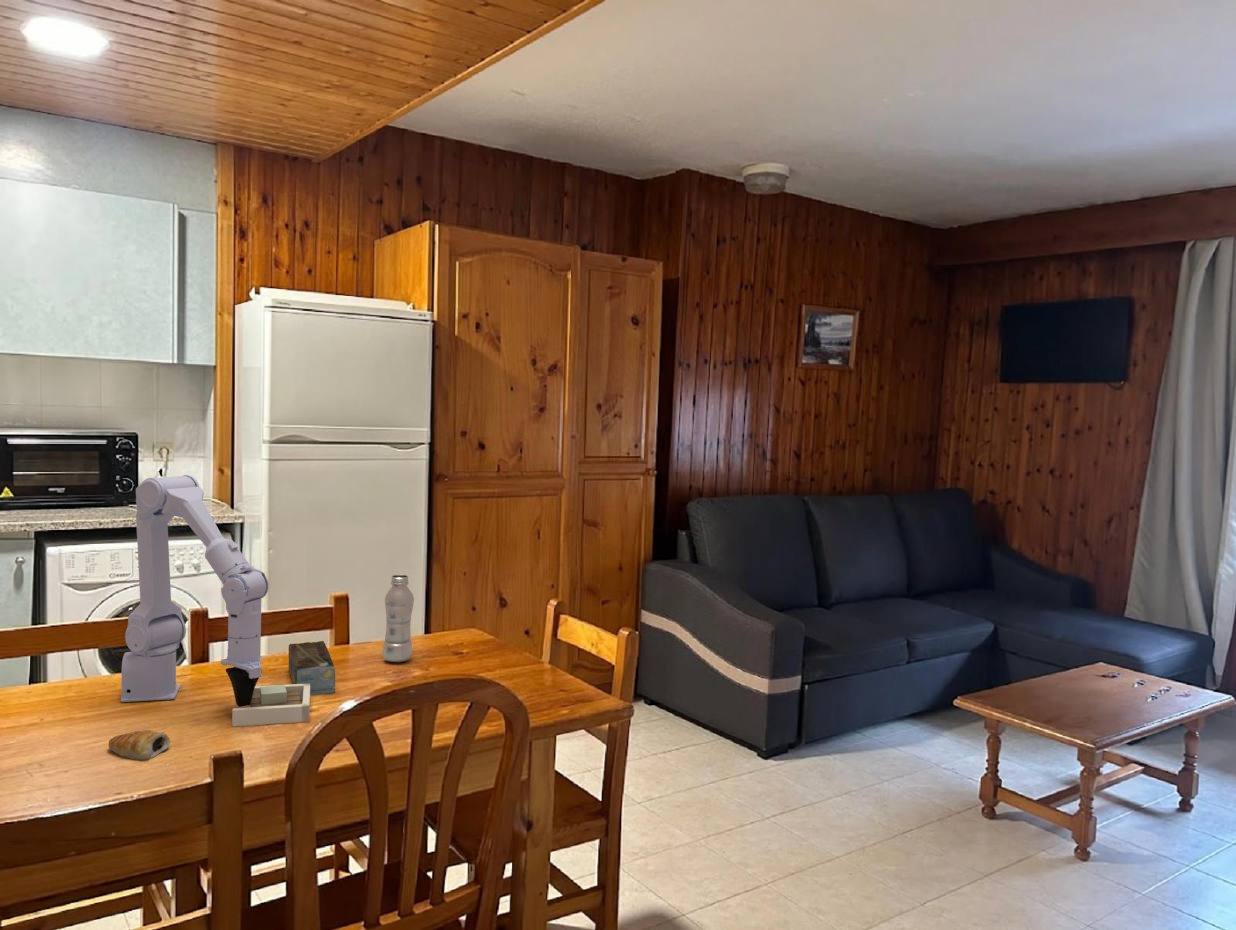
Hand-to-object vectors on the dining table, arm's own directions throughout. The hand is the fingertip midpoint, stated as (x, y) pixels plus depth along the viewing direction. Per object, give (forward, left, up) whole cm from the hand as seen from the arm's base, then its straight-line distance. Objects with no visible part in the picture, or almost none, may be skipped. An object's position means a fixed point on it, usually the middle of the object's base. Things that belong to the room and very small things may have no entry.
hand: (243, 705), depth 169 cm
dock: (+5, 0, -2) cm, 5 cm away
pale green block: (+5, +1, 0) cm, 5 cm away
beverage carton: (+12, +18, -2) cm, 21 cm away
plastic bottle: (+31, +29, -2) cm, 42 cm away
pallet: (+6, +1, -2) cm, 6 cm away
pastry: (-15, -16, -2) cm, 22 cm away
